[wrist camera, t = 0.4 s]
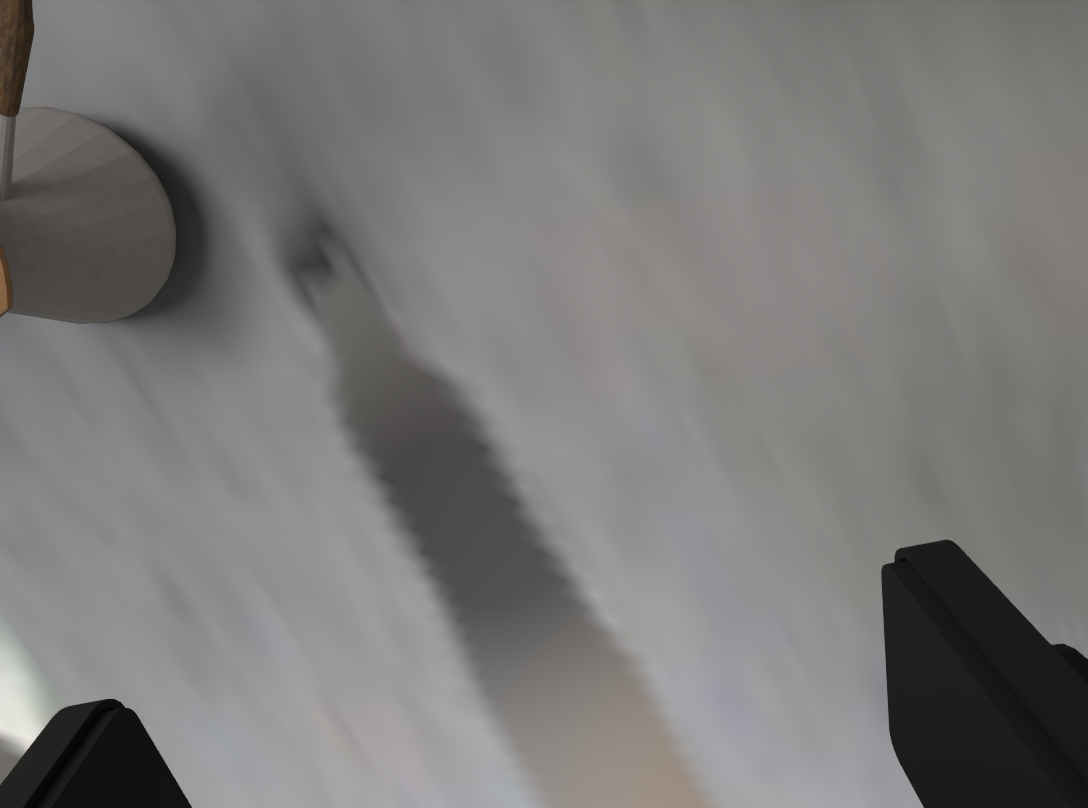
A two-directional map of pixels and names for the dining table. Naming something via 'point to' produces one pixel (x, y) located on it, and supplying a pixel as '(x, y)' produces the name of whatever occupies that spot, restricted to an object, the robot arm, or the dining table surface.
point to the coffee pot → (72, 205)
